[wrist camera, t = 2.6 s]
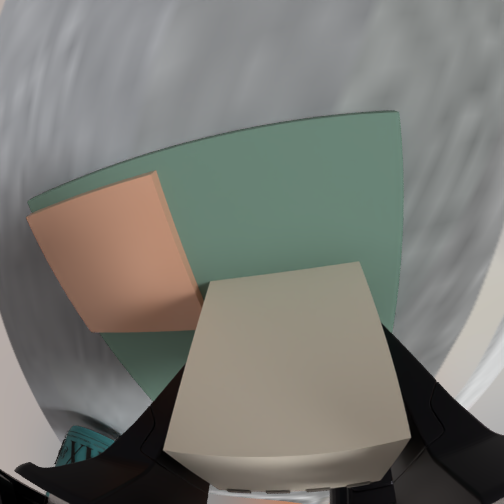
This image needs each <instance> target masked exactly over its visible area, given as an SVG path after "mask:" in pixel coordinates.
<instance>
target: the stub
mask: <svg viewBox="0 0 504 504" xmlns="http://www.w3.org/2000/svg"><path fill="white" fill-rule="evenodd" d="M410 438H411V434H410V430H409V425H408V420H407V416H406V411H405V407H404V403H403V399H402V395H401V391H400V387H399V383H398V379H397V375H396V372H395V368H394V364H393V361H392V357H391V354H390V351H389V347H388V344H387V341H386V337H385V334H384V331H383V328H382V325H381V321H380V318H379V315H378V312H377V309H376V306H375V303H374V301H373V298H372V295H371V292H370V289H369V286H368V284H367V281H366V278H365V275H364V273H363V270H362V267H361V265H360V262H359V261H358V262H351V263H344V264H337V265H330V266H323V267H316V268H309V269H302V270H294V271H287V272H279V273H272V274H264V275H256V276H249V277H241V278H233V279H224V280H216V281H210V284H209V287H208V290H207V293H206V297H205V300H204V303H203V307H202V310H201V313H200V317H199V320H198V324H197V327H196V331H195V334H194V337H193V341H192V344H191V348H190V351H189V355H188V358H187V362H186V366H185V369H184V373H183V376H182V380H181V384H180V387H179V391H178V395H177V398H176V402H175V406H174V410H173V413H172V417H171V421H170V425H169V429H168V433H167V437H166V440H165V444H164V448H163V451H165V452H166V453H167V454H169V455H170V456H171V457H172V458H174V459H175V460H176V461H178V462H179V463H181V464H182V465H183V466H185V467H186V468H187V469H189V470H190V471H192V472H193V473H195V474H196V475H198V476H199V477H200V478H202V479H203V480H205V481H207V482H208V483H210V484H211V485H213V486H214V487H216V488H217V489H219V490H227V491H228V492H235V493H251V492H266V493H267V494H278V493H290V491H307V492H317V491H327V490H330V488H338V487H345V486H347V488H351V487H357V486H363V485H369V484H370V482H375V481H380V480H381V479H382V478H383V476H384V475H385V474H386V472H387V471H388V470H389V468H390V467H391V466H392V464H393V463H394V462H395V460H396V459H397V458H398V456H399V455H400V453H401V452H402V450H403V449H404V447H405V446H406V444H407V443H408V441H409V440H410Z"/></svg>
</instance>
